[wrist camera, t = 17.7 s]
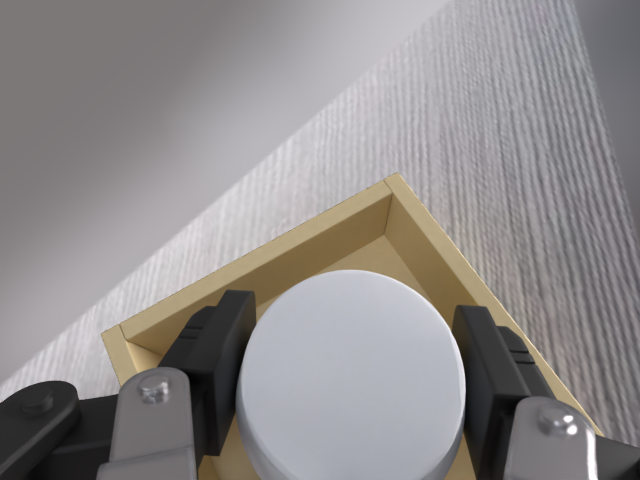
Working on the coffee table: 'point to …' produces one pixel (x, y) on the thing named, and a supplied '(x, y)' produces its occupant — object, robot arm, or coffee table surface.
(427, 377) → the supplement bottle
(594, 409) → the coffee table surface
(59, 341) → the coffee table surface
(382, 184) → the cream bin
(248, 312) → the robot arm
